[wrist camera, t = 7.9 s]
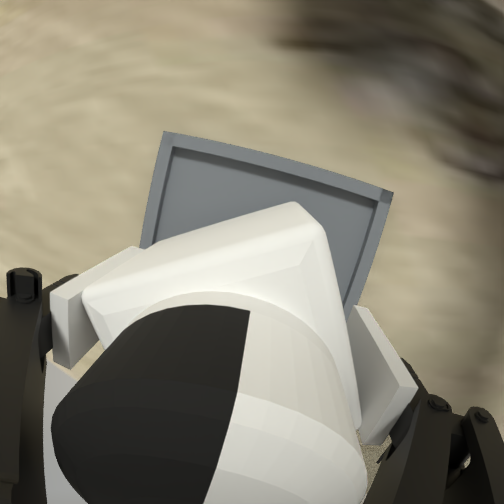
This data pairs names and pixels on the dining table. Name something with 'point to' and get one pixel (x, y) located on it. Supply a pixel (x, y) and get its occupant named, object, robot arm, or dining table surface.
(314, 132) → the dining table surface
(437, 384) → the dining table surface
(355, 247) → the tray
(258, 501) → the container
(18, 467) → the robot arm
